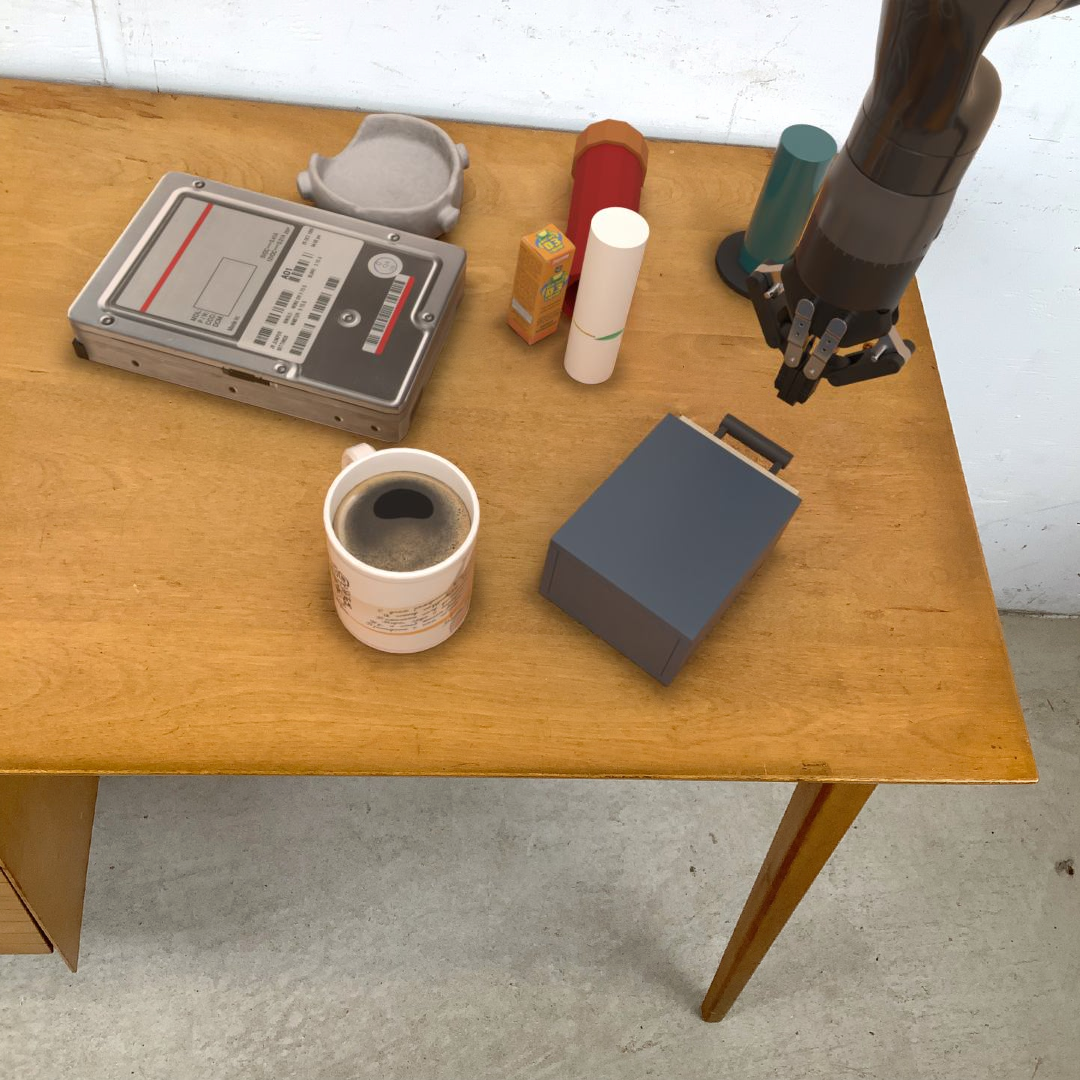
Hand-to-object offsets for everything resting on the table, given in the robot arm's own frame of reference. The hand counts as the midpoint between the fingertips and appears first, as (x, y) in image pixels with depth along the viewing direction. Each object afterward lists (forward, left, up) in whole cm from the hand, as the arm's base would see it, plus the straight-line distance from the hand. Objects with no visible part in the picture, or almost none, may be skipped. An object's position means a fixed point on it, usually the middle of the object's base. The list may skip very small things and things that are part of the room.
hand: (790, 395), depth 78 cm
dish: (+41, 0, -7) cm, 42 cm away
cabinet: (0, +16, -7) cm, 17 cm away
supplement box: (+22, +3, -7) cm, 23 cm away
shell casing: (+24, -9, -7) cm, 27 cm away
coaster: (+11, -18, -7) cm, 23 cm away
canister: (+11, -19, -6) cm, 23 cm away
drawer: (0, +12, -6) cm, 13 cm away
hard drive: (+38, +17, -7) cm, 42 cm away
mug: (+14, +29, -7) cm, 33 cm away
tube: (+16, +3, -7) cm, 18 cm away
